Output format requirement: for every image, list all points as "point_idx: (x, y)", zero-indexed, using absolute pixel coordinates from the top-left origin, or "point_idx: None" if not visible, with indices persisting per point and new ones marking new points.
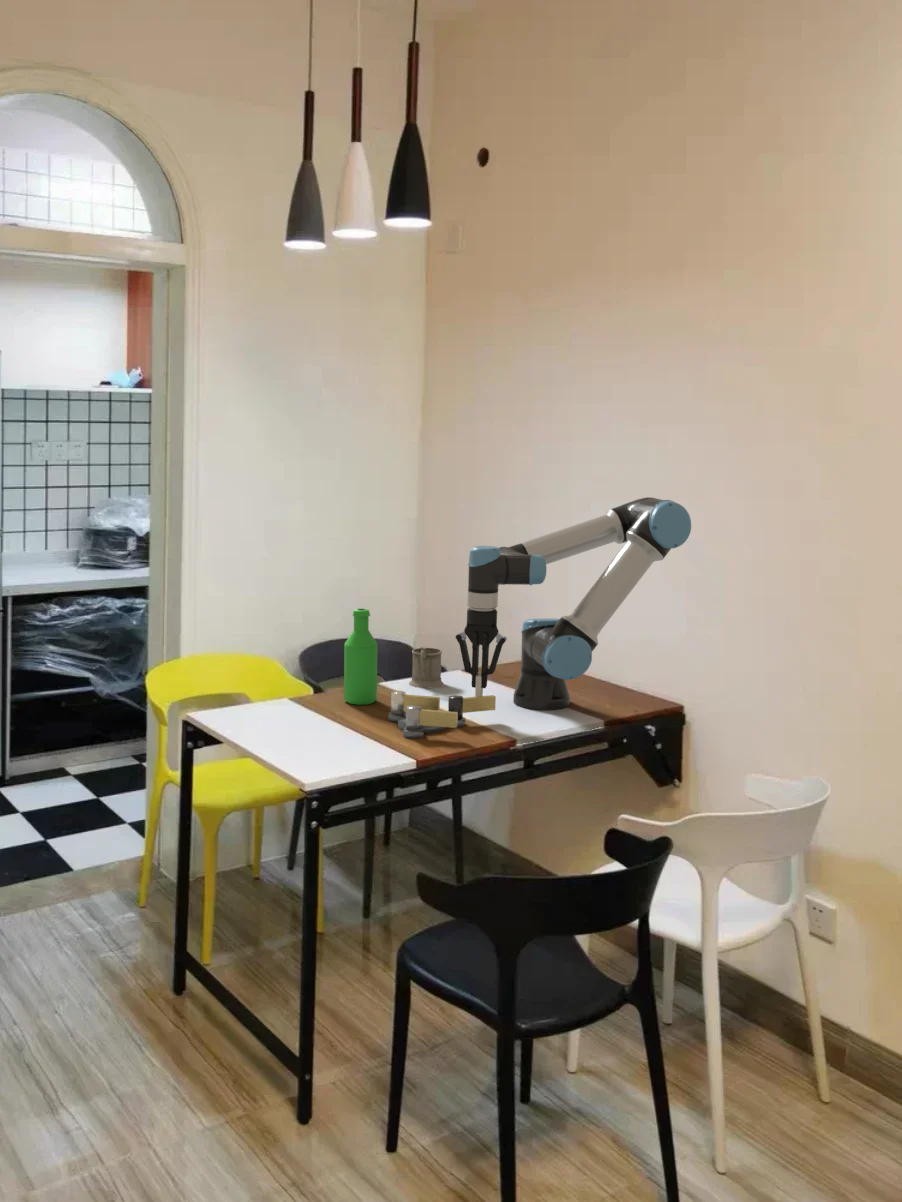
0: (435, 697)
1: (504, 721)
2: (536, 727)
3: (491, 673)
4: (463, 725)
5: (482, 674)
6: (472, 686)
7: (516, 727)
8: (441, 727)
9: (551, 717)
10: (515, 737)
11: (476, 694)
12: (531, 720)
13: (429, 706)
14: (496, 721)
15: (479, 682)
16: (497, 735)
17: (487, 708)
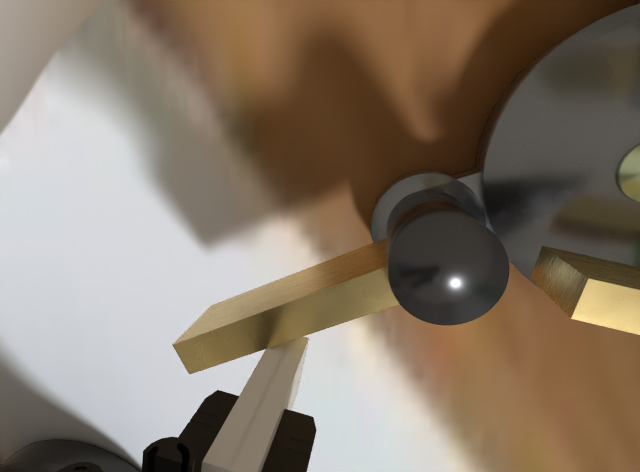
0: (613, 303)
1: (195, 286)
2: (58, 202)
3: (78, 468)
4: (381, 193)
5: (173, 461)
6: (310, 420)
7: (137, 194)
8: (516, 82)
9: (29, 348)
10: (121, 11)
11: (290, 361)
12: (92, 306)
13: (622, 270)
14: (228, 285)
15: (241, 419)
16: (208, 36)
17: (245, 296)
